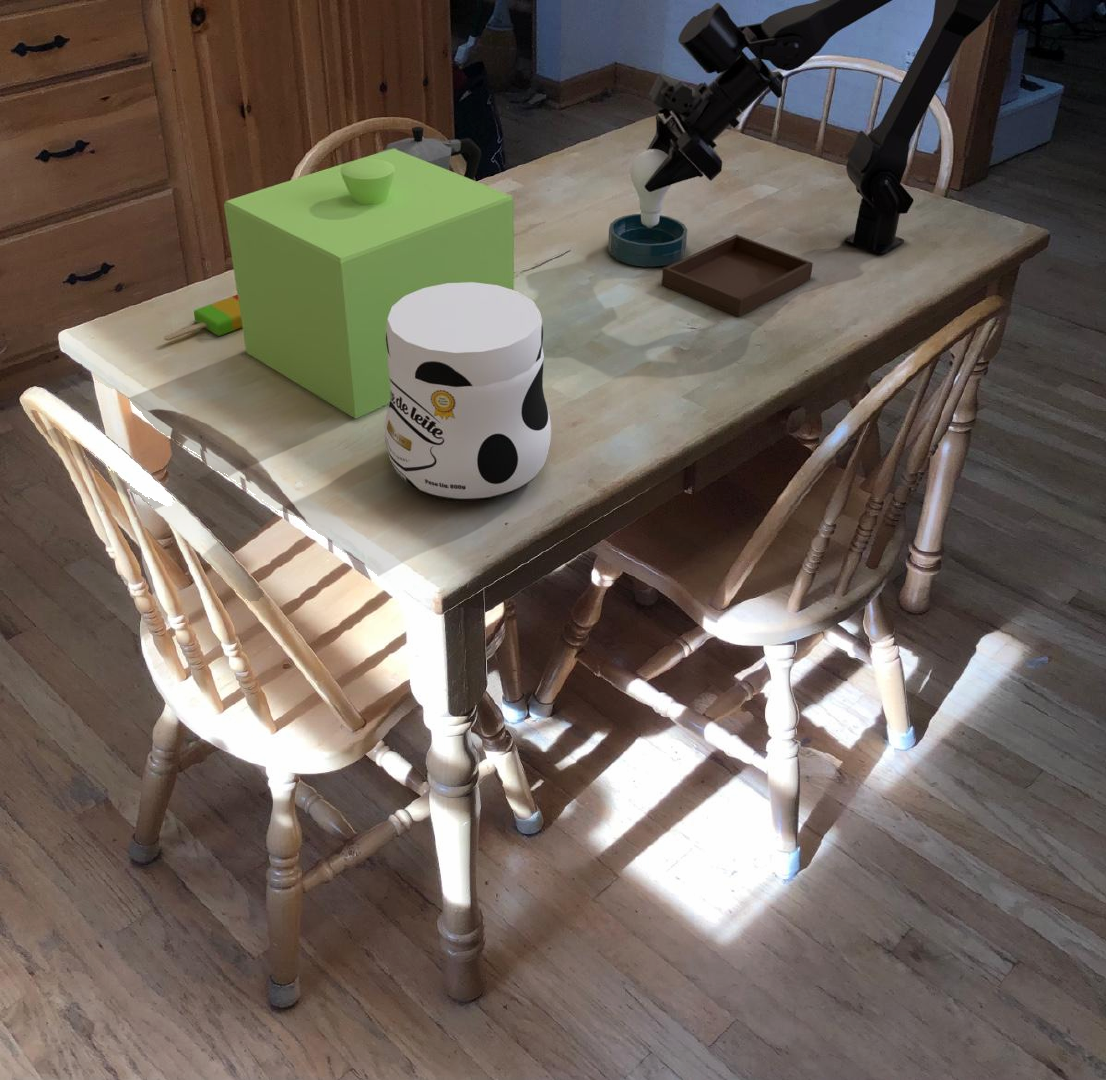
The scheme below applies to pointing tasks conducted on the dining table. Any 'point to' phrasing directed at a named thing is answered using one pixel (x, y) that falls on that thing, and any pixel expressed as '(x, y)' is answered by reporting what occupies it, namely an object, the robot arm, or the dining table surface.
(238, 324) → the popsicle
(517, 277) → the dining table surface
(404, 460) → the milk container
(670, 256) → the bowl
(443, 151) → the coffeepot
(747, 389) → the dining table surface
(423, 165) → the canister
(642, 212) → the lightbulb
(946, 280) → the dining table surface
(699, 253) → the tray
